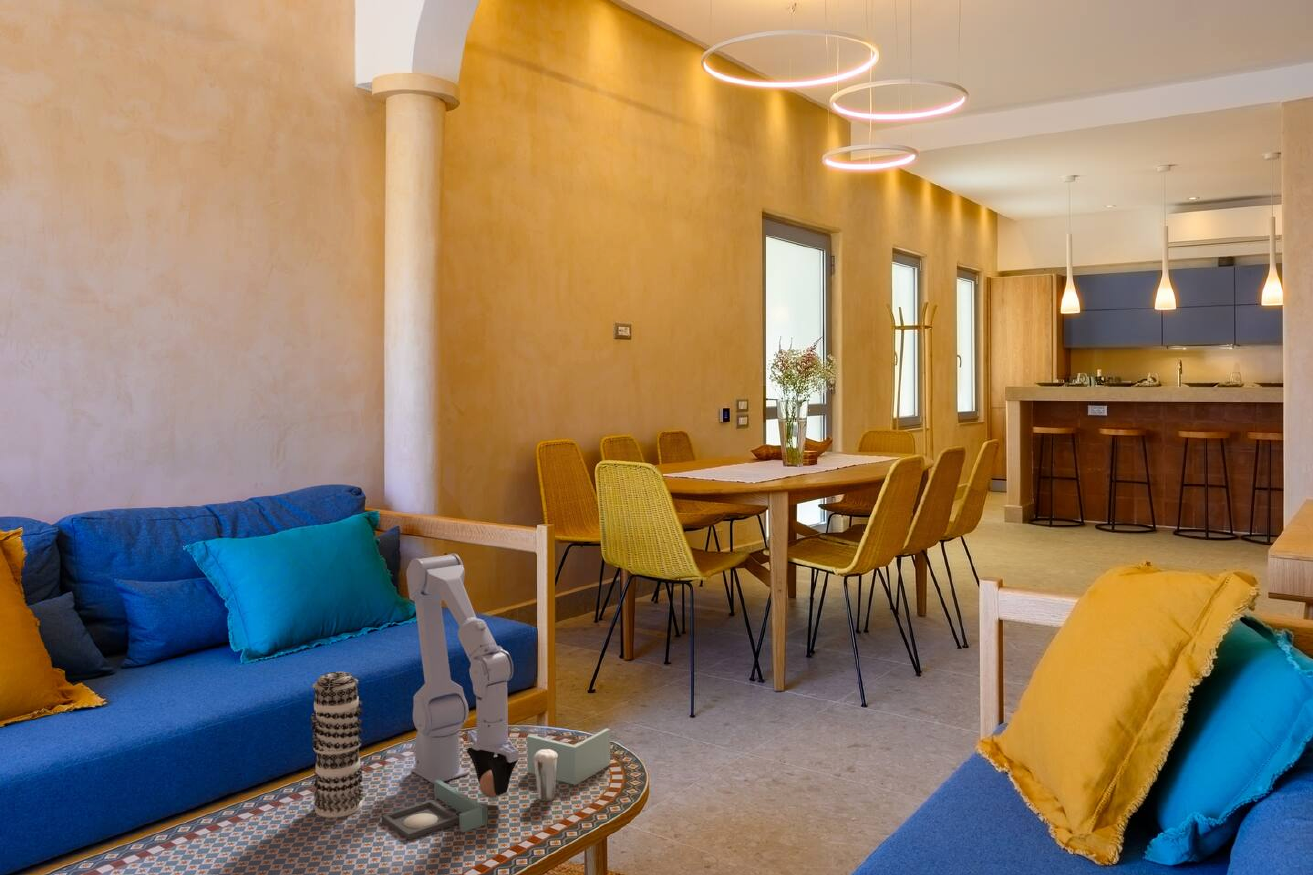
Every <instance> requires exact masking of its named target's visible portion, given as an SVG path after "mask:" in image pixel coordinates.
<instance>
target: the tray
mask: <svg viewBox="0 0 1313 875" xmlns="http://www.w3.org/2000/svg"><path fill="white" fill-rule="evenodd" d="M381 823H382V824H384V825H386V826H387V827H388V828H390V829H391V830H393V831H394V832H395V833H397V834H398V835H399V836H401V837H402V838H404V840H407V841H408V842H409V841H410V842H411V841H413V840H416V839H419V838H422V837H424V836H427V835H430V834H434V833H436V832H439V831H442V830H445V829H448V828H452V827H454V826H456V825H460V823H459V815H457V814H455V813H454V812H452V810H449V809H447V808H446V807H445V806H443V805H441V804H439V803H438V802H436V801H435V800H433V799H428V800H425V801H422V802H420V803H417V804H414V805H411V806H407V807H405V808H400V809H398V810H395V811H392V812H389V813H386V814H382V815H381Z"/></svg>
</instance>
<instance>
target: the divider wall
mask: <svg viewBox="0 0 1313 875" xmlns="http://www.w3.org/2000/svg"><path fill="white" fill-rule="evenodd" d="M433 796H434V798H437V799H438V800H439V801H442V802H443V803H445V804H446V805H448V806H450V807H451V808H453V809H454V810H456V811H458V812H459V815H458V816H459V823H460V824H459V832H461V833H462V834H463V833H465V832H469V831H471V830H474V829H476V828H480V827H482V826H485V825H487V824H488V807H486V806H485V805H483V804H481V803H480V802H478V801H476V800H475V799H473V798H471V797H469V796H468V795H466V794H465V793H463V792H461V791H459V790H457V788H454V787H452V786H451V785H449V784H448V783H445V781H443V782H442V781H440V780H439V779H438V780H435V781H434V784H433Z"/></svg>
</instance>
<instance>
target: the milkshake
mask: <svg viewBox="0 0 1313 875" xmlns="http://www.w3.org/2000/svg"><path fill="white" fill-rule="evenodd" d="M561 748H562V747H561ZM560 750H561V749H560ZM559 753H560V751H559ZM558 755H559V754H557V753H556V752H555V751H553V750H551V749H542V750H539V751H538V752H537V753H536V754H535V755H534V764H535V772H536V774H535V777H536V778H535V780H536V793H537V800H539V801H541V802H551V801H553V800H554V799H555V797H556V784H557V782H556V781H557V780H556V772H557V762H558Z"/></svg>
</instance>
